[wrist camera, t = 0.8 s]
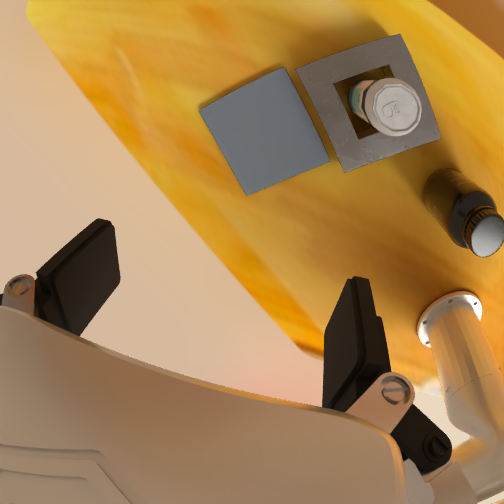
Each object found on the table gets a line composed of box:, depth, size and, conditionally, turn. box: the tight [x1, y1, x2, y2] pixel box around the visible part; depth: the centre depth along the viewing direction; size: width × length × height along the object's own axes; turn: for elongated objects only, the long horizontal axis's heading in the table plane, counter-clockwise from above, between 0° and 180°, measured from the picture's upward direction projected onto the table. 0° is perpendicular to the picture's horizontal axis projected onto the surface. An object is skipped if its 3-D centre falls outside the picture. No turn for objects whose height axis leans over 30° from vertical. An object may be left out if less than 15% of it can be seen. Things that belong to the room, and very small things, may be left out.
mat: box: [199, 67, 330, 196], centre depth 32 cm, size 12×11×1 cm
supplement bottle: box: [424, 168, 504, 257], centre depth 27 cm, size 7×7×12 cm
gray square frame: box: [295, 34, 441, 173], centre depth 27 cm, size 12×12×4 cm
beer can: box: [348, 78, 422, 136], centre depth 23 cm, size 5×5×12 cm
